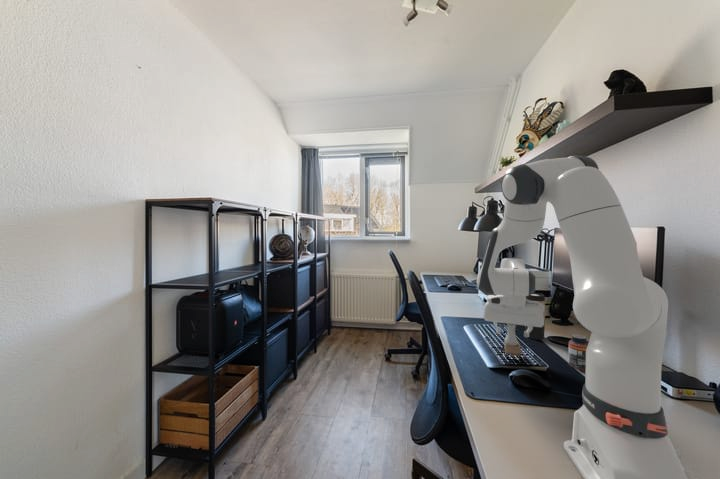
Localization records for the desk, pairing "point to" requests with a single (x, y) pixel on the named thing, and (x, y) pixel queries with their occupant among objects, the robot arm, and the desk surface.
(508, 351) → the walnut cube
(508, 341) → the rook chess piece
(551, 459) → the desk surface
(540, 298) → the travel mug
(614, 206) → the robot arm
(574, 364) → the supplement bottle
